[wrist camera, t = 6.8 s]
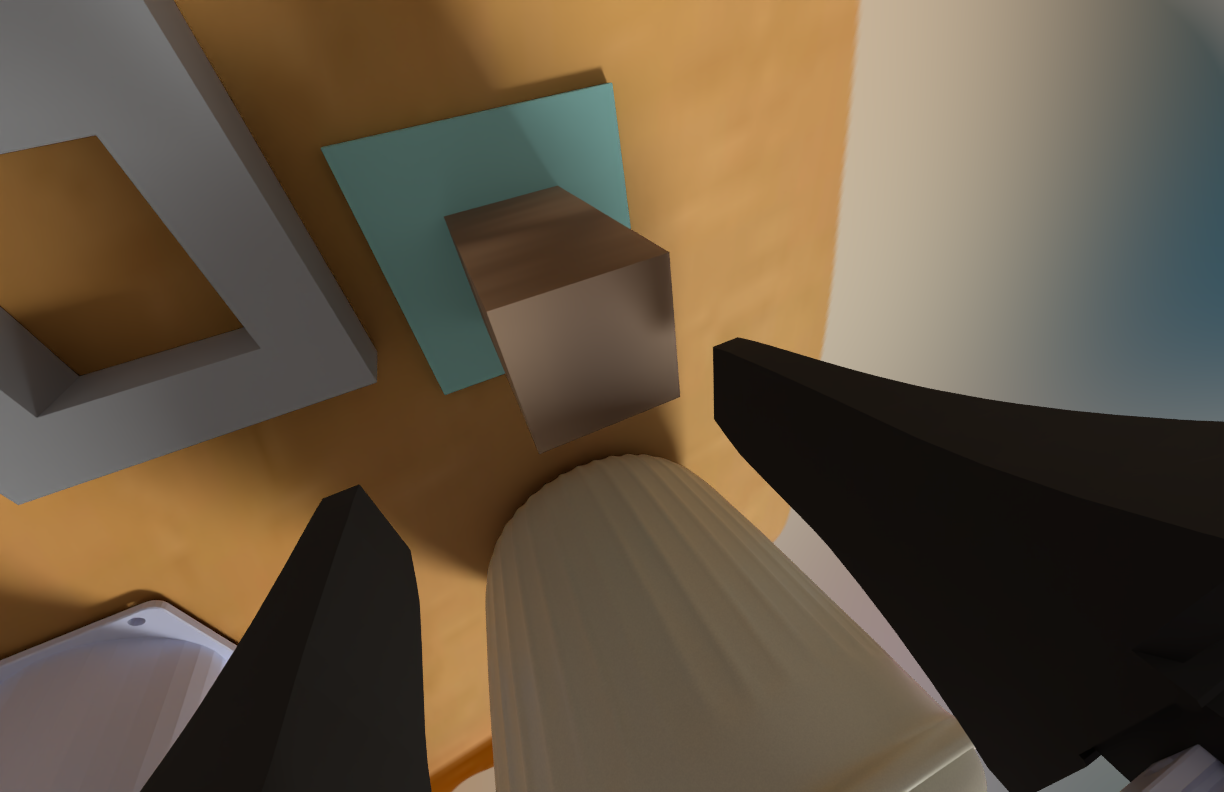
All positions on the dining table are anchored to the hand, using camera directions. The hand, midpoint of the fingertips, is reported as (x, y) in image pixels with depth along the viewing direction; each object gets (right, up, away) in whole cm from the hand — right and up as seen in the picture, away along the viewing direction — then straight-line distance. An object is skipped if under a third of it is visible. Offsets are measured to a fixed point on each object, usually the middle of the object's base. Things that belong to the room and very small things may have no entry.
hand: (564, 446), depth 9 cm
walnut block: (-2, +6, +7) cm, 10 cm away
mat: (-3, +6, +8) cm, 10 cm away
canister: (0, -7, +18) cm, 20 cm away
